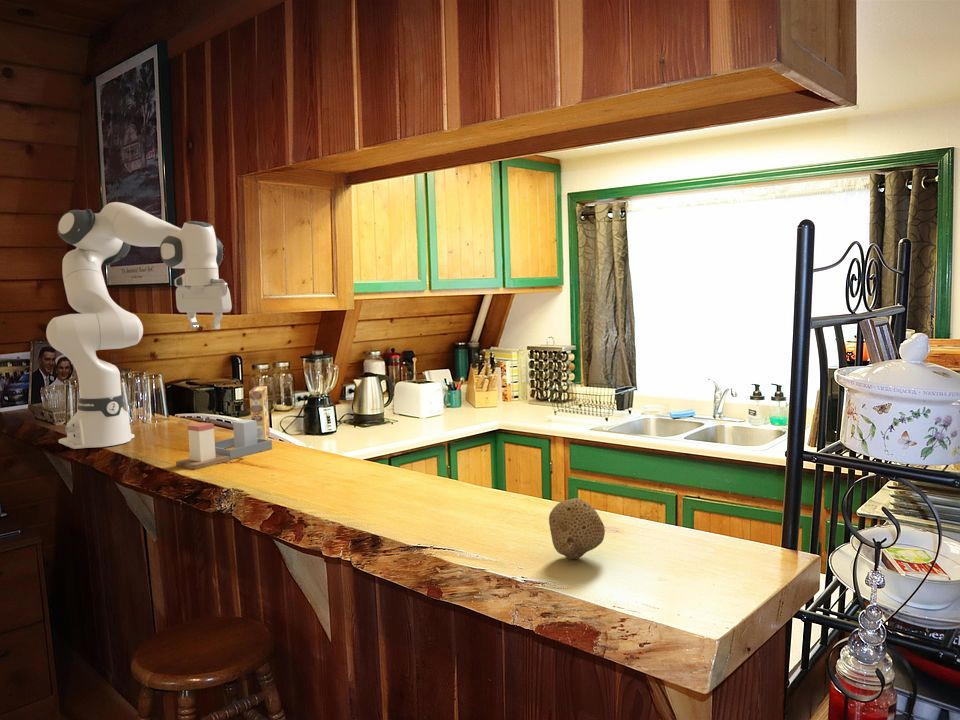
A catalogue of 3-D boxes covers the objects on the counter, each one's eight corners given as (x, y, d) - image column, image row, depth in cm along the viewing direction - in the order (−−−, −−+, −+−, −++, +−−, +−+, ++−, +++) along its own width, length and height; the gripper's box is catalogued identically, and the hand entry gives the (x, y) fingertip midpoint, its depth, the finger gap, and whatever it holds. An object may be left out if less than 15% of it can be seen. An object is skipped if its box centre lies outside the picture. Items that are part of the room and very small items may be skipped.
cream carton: (189, 459, 200) (187, 425, 199) (204, 456, 204) (202, 422, 203) (200, 461, 198) (198, 426, 197) (215, 458, 202) (213, 423, 201)
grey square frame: (199, 454, 212) (199, 445, 212) (241, 444, 224) (240, 435, 224) (230, 459, 205) (230, 450, 205) (272, 448, 217) (271, 440, 216)
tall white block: (234, 449, 217) (233, 421, 216) (247, 446, 220) (245, 419, 220) (245, 451, 214) (243, 423, 213) (258, 448, 218) (256, 420, 217)
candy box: (266, 441, 228) (263, 390, 226) (251, 442, 227) (248, 390, 225) (270, 435, 236) (267, 386, 235) (256, 436, 236) (253, 386, 234)
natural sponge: (606, 550, 130) (605, 492, 129) (603, 570, 121) (603, 508, 120) (552, 547, 132) (551, 490, 131) (545, 567, 123) (545, 506, 122)
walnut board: (176, 466, 199) (175, 461, 199) (210, 457, 208) (210, 453, 207) (195, 469, 194) (195, 464, 194) (229, 460, 203) (229, 456, 203)
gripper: (235, 278, 213) (238, 328, 214) (189, 280, 224) (192, 327, 226) (216, 278, 208) (219, 330, 209) (170, 280, 219) (173, 328, 221)
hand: (205, 328), depth 218 cm, fingers open, 8 cm apart
